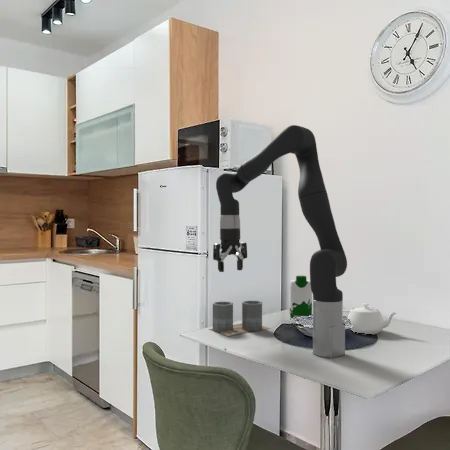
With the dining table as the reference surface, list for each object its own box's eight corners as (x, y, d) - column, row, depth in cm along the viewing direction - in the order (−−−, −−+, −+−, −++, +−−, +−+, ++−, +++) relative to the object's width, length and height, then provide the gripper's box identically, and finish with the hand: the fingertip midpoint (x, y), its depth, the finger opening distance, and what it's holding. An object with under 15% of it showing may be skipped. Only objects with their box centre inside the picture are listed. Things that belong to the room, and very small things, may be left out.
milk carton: (289, 328, 184) (290, 276, 184) (289, 322, 193) (289, 273, 193) (312, 328, 183) (313, 277, 183) (310, 323, 192) (311, 274, 192)
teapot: (333, 332, 178) (333, 303, 178) (343, 325, 190) (343, 298, 189) (393, 340, 167) (394, 309, 166) (401, 332, 178) (401, 303, 178)
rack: (271, 331, 179) (271, 302, 178) (228, 340, 167) (228, 308, 167) (249, 325, 189) (249, 297, 189) (208, 332, 177) (208, 302, 177)
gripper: (220, 227, 168) (221, 273, 169) (251, 227, 177) (251, 270, 177) (208, 227, 174) (209, 271, 175) (238, 227, 183) (239, 268, 183)
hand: (230, 271), depth 176 cm, fingers open, 8 cm apart
